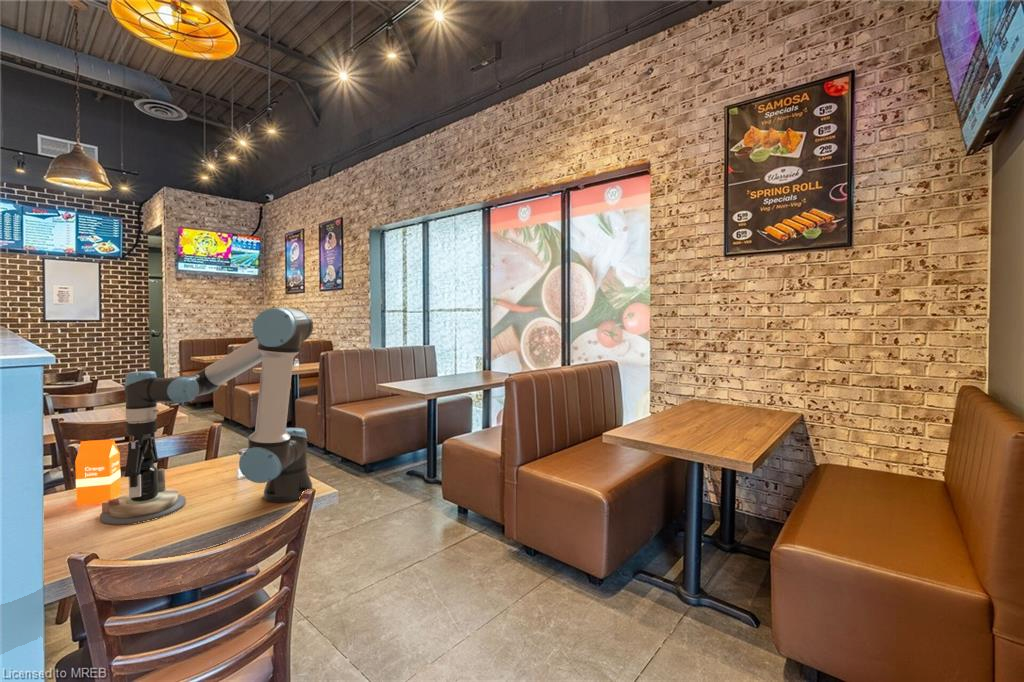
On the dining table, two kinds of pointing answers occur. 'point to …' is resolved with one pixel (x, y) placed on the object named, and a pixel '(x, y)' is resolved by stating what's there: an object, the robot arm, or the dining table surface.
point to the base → (110, 520)
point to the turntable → (144, 502)
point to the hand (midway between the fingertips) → (142, 490)
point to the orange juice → (97, 471)
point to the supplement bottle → (148, 480)
